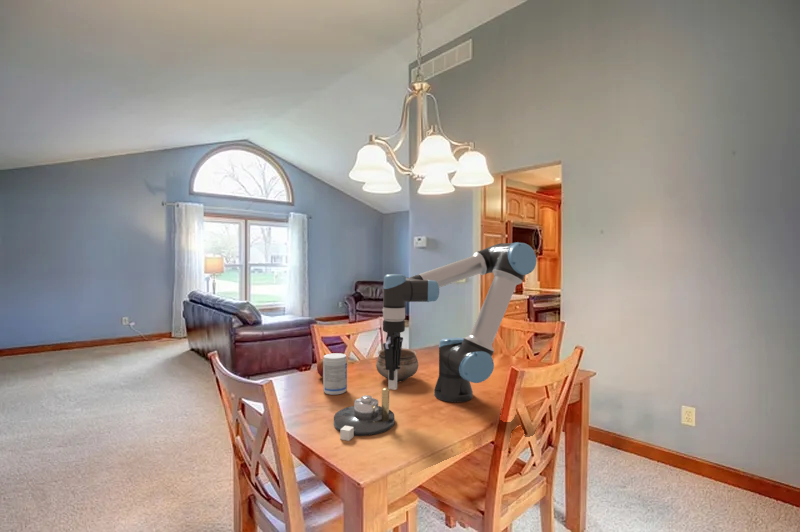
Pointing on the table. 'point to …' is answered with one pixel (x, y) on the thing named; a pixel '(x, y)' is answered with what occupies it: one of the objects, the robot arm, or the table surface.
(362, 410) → the cover
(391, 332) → the robot arm
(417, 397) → the table surface
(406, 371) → the cooking pot
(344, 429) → the white cube
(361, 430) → the turntable
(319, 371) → the fruit
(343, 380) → the supplement tub
